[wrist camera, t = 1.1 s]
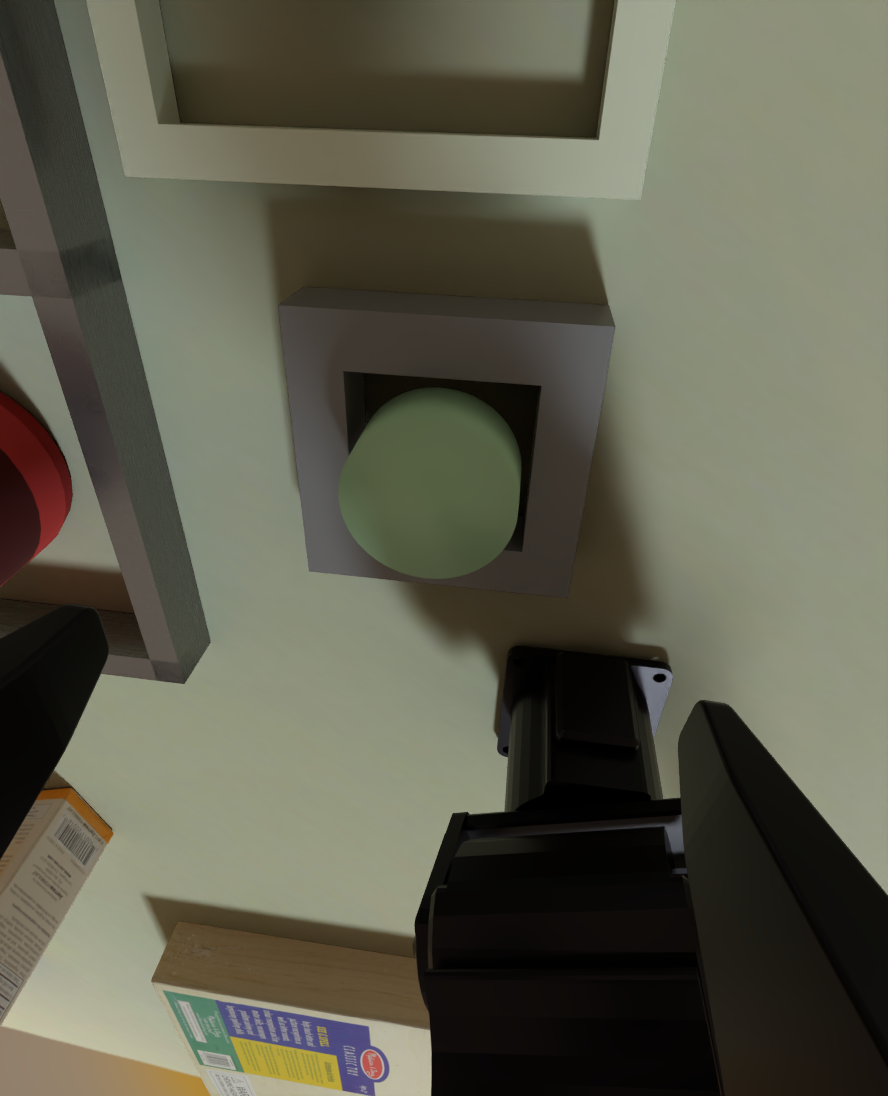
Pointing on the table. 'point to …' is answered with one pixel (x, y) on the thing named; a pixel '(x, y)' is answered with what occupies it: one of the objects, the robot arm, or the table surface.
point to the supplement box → (43, 881)
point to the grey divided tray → (90, 348)
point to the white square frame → (380, 155)
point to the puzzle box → (294, 1015)
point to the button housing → (450, 353)
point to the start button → (433, 484)
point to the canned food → (28, 488)
